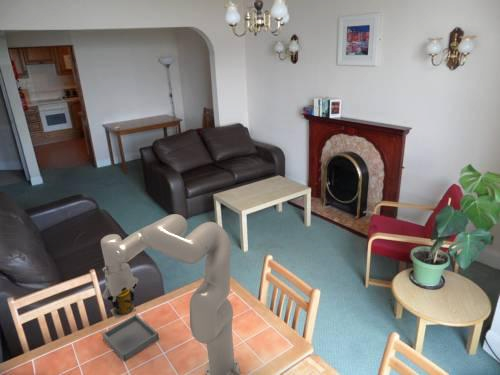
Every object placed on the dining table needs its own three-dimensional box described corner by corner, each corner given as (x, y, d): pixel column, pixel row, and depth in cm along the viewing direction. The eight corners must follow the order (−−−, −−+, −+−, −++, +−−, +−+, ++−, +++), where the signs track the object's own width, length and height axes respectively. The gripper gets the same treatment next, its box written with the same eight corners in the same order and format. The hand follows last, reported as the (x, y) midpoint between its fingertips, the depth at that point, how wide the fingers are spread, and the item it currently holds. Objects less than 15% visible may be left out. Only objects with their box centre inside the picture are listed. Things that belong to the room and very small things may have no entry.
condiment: (136, 311, 150) (131, 286, 146) (115, 320, 146) (110, 294, 142) (130, 301, 156) (125, 277, 152) (110, 310, 151) (104, 285, 147)
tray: (159, 338, 156) (158, 333, 155) (124, 361, 146) (123, 355, 145) (137, 319, 168) (135, 314, 167) (103, 339, 158) (102, 333, 157)
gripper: (99, 279, 136) (108, 318, 142) (140, 259, 147) (147, 296, 154) (90, 271, 141) (99, 310, 147) (131, 253, 152) (138, 289, 159)
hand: (123, 303), depth 150 cm, fingers closed on condiment, 6 cm apart
